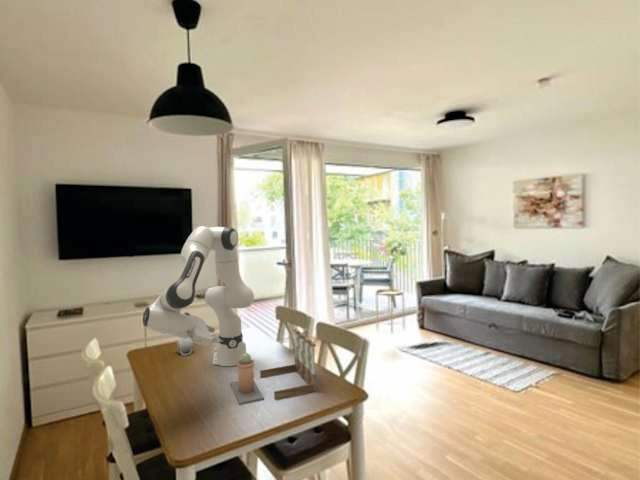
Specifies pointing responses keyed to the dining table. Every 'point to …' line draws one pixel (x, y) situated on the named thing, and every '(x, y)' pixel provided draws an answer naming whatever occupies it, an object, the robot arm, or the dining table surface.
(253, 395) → the potting mat
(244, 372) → the seedling pot
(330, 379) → the dining table surface
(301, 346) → the brown wooden frame
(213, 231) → the robot arm
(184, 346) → the ceramic mug
